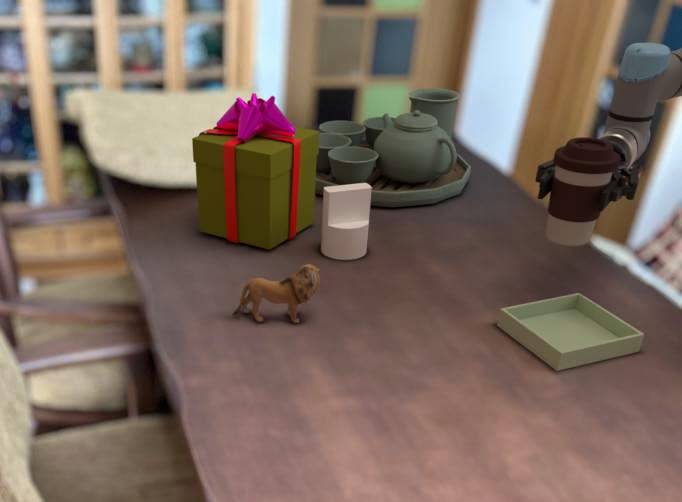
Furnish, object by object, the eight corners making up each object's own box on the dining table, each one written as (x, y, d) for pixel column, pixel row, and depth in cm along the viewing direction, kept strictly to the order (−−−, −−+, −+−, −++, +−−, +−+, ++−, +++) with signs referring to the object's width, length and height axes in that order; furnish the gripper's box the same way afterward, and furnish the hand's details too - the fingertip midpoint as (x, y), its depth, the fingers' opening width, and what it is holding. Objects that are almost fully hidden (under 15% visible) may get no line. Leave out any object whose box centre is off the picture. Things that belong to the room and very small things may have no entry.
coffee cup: (610, 242, 137) (637, 146, 127) (569, 255, 132) (594, 157, 122) (564, 223, 143) (586, 130, 133) (524, 235, 138) (544, 140, 128)
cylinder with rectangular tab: (356, 239, 166) (360, 177, 158) (373, 256, 159) (379, 193, 152) (314, 244, 164) (316, 182, 156) (330, 262, 157) (334, 198, 149)
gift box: (230, 206, 179) (226, 77, 162) (320, 220, 173) (326, 88, 157) (188, 240, 164) (180, 103, 148) (286, 256, 159) (288, 115, 142)
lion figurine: (316, 309, 142) (318, 258, 136) (319, 323, 139) (322, 272, 133) (231, 311, 142) (230, 260, 136) (232, 325, 138) (231, 273, 132)
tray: (638, 351, 132) (644, 334, 130) (556, 371, 128) (561, 353, 125) (574, 309, 143) (579, 292, 141) (496, 325, 139) (500, 308, 137)
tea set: (336, 144, 213) (340, 73, 202) (487, 168, 200) (500, 92, 189) (267, 191, 186) (268, 111, 175) (437, 222, 173) (449, 138, 162)
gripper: (665, 191, 142) (634, 234, 127) (543, 169, 150) (500, 207, 136) (680, 145, 137) (649, 184, 122) (552, 125, 145) (509, 159, 131)
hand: (571, 196), depth 129 cm, fingers closed on coffee cup, 9 cm apart
